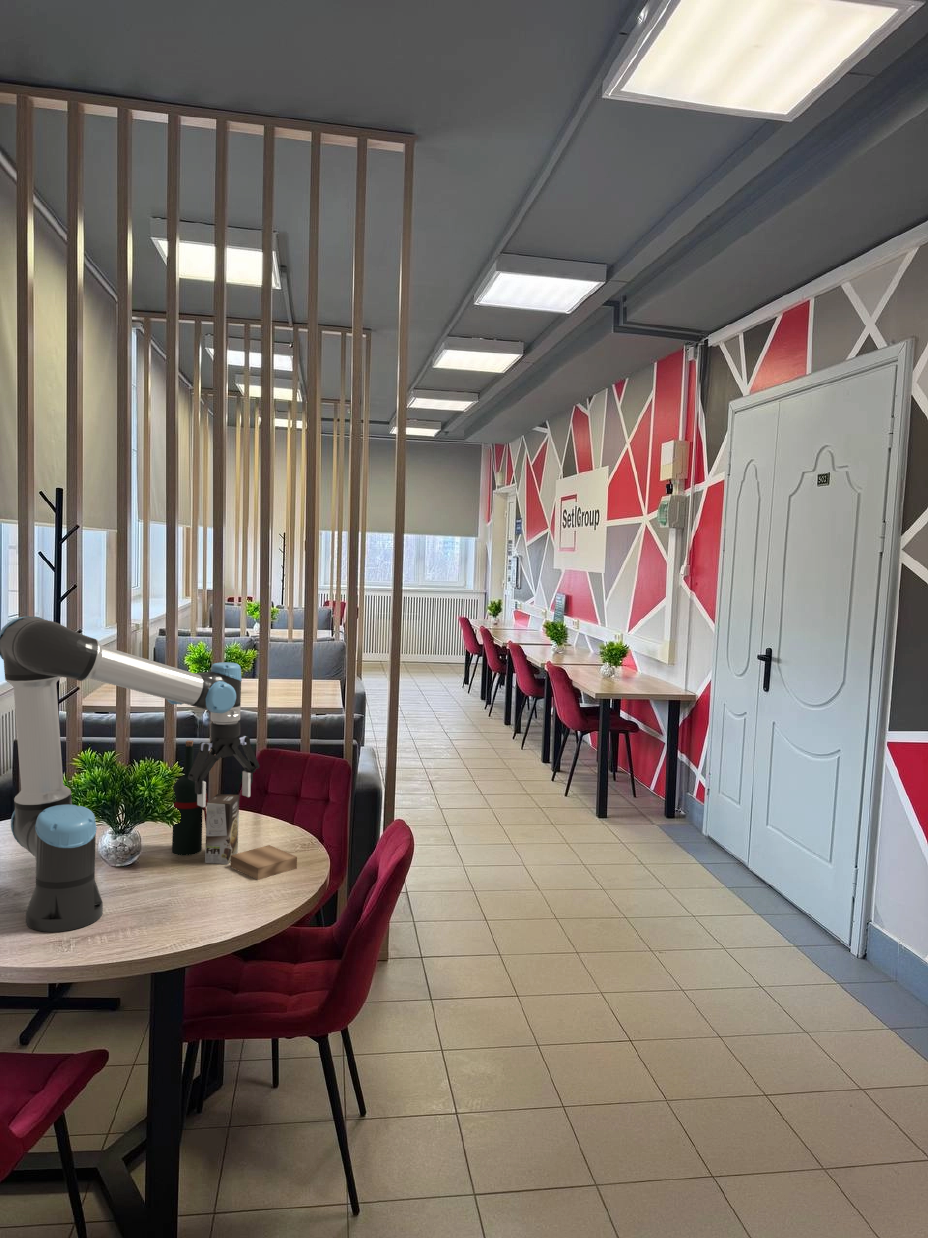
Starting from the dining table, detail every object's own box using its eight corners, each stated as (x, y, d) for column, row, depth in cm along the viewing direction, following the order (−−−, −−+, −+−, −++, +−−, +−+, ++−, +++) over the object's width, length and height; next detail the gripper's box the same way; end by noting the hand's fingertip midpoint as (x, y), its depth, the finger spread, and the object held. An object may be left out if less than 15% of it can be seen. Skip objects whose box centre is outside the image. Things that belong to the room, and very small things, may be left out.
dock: (257, 880, 209) (258, 868, 209) (230, 866, 217) (230, 855, 216) (296, 868, 218) (297, 856, 218) (268, 856, 226) (269, 845, 225)
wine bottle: (207, 856, 223) (210, 745, 221) (167, 855, 223) (170, 744, 221) (213, 846, 231) (216, 738, 229) (175, 845, 230) (178, 737, 228)
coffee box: (228, 864, 218) (230, 803, 217) (204, 863, 218) (205, 802, 217) (238, 852, 227) (240, 794, 226) (215, 851, 227) (216, 793, 226)
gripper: (190, 730, 208) (189, 813, 210) (273, 718, 227) (271, 794, 229) (174, 725, 213) (173, 807, 215) (257, 713, 232) (255, 789, 234)
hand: (224, 801), depth 222 cm, fingers open, 13 cm apart
